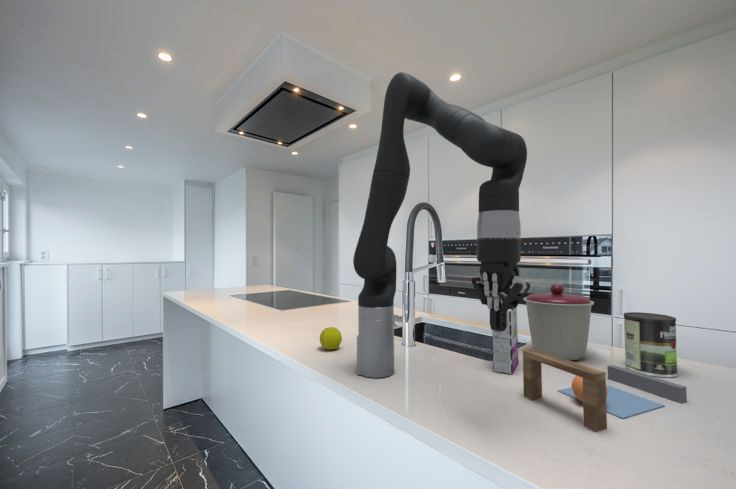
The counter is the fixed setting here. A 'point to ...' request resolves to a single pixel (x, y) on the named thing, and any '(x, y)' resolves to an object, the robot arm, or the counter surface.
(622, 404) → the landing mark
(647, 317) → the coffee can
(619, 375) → the stopper
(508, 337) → the candy bar box
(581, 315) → the canister
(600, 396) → the bridge
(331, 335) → the tennis ball
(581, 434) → the counter surface
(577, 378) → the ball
